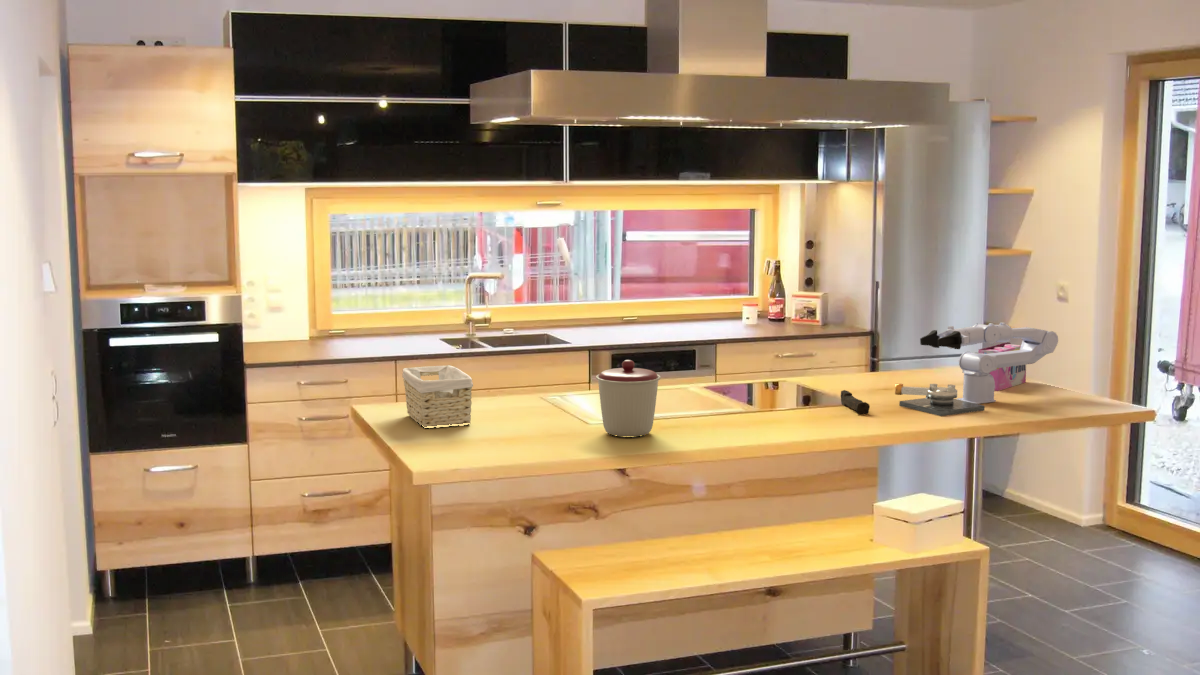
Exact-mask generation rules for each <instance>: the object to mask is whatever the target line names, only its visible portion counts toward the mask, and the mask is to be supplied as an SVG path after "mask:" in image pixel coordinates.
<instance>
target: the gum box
mask: <svg viewBox="0 0 1200 675" xmlns="http://www.w3.org/2000/svg"><path fill="white" fill-rule="evenodd" d="M1020 347H1021V345H1020V344H1013V343H1011V342H1010V341H1008V342H1000V343H999V344H995V345H991V346H988V347H982V348H980V349H979V348H978V352H977V353H980V354H989V353H998V352H1006V351H1015V350H1020ZM989 374H991V375H992V376H993V378H994V381H995V387H994V392H998V391H1004V390H1005V389H1009V388H1012V387H1015V386H1018V385H1022V384H1024V383H1026V380H1027V378H1026V377H1027V364H1026V365H1018V366H1010V367H1002V368H997V369H996V371H992V372H990V373H989Z"/></svg>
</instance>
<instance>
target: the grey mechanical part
mask: <svg viewBox="0 0 1200 675" xmlns="http://www.w3.org/2000/svg"><path fill="white" fill-rule="evenodd" d="M894 395H897V396H901V395H907V396H908V395H911V396H912V395H913V396H925V398H927V399H930V397H931V398H938V399H953V398H954V399H958V389H956V384H947V387H941V386H940V387H939V386H938V384H937V383H929V387H922V386H921V387H920V386H904V383H895V384H894Z"/></svg>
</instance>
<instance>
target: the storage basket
mask: <svg viewBox="0 0 1200 675" xmlns="http://www.w3.org/2000/svg"><path fill="white" fill-rule="evenodd" d="M401 374H402V378H403V380H402V381H403V386H404V392H405V393H404V394H405V402H406V409H407V411H406V412H407V415H410V416H409V417H411V419H412V420H414V422H416V423H417V422H418V423H419V424H420V425H419V424H418V423H417V424H418V425H419V426H421V425H423V426H424V427H427V426H437V425H449V424H450V425H452V424H463V423H470V424H471V419H472V414H471V413H472V389H473V388H474V383H473V379H472V377H471V375H469V374H467V373H466V372H464V371H462V370H461V369H460V368H458V367H456V366H452V365H450V364H448V365H435V366H434V365H432V366H431V365H430V366H420V367H419V366H416V367H404V368H403V369H402V373H401ZM425 376H429V377H430V376H438V379H434V380H433V379H432V380H429V379H425V380H423V379H422V377H425Z"/></svg>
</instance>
